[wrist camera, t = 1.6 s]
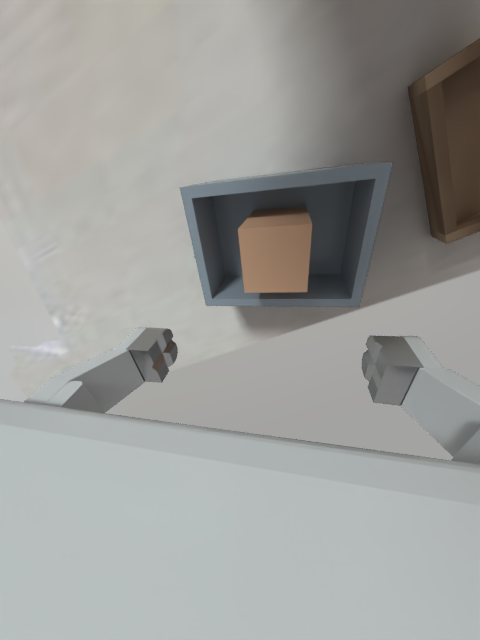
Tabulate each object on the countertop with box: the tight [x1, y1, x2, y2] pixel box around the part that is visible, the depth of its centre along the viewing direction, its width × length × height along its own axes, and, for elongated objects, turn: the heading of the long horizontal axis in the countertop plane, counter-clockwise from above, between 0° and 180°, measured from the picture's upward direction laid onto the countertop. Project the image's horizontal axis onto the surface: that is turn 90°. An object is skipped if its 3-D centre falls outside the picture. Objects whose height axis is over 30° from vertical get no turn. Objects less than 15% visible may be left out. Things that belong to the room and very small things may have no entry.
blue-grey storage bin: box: [180, 162, 393, 307], centre depth 21 cm, size 11×15×6 cm
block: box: [238, 206, 312, 293], centre depth 19 cm, size 5×5×8 cm
